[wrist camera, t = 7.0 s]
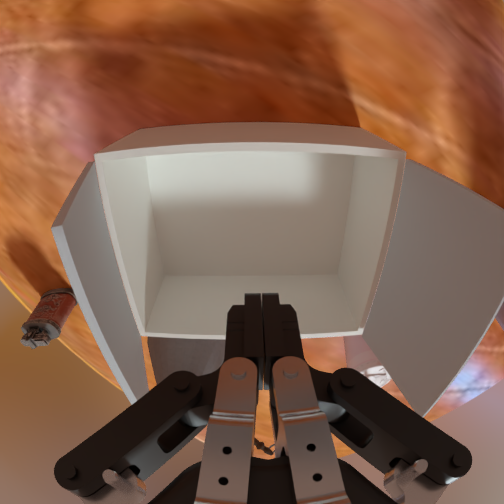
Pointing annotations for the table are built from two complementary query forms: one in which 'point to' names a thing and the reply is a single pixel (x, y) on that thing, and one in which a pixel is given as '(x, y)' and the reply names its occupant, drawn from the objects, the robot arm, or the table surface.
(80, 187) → the flap
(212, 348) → the coffee pot
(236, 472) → the robot arm
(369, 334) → the flap
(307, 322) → the carton
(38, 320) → the lighter
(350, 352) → the smoothie
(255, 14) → the table surface
